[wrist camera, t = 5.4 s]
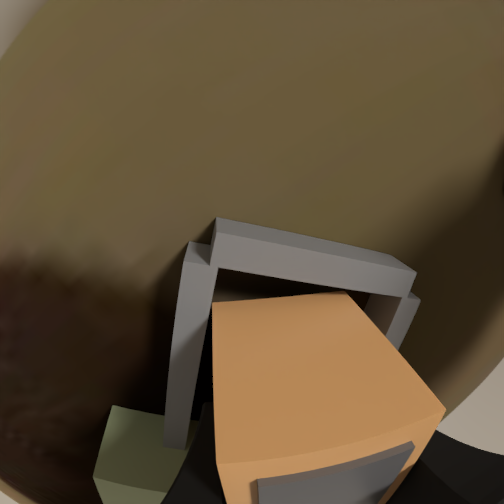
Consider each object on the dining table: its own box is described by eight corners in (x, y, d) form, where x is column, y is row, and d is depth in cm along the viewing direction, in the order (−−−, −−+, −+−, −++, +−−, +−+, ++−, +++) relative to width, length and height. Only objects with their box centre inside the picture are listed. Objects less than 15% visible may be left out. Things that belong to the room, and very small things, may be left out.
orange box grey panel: (344, 290, 10) (451, 415, 4) (324, 421, 12) (368, 529, 6) (212, 302, 10) (216, 473, 4) (228, 435, 12) (242, 555, 6)
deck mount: (443, 267, 12) (510, 310, 8) (327, 473, 16) (344, 522, 12) (117, 199, 9) (55, 232, 5) (120, 462, 14) (110, 519, 10)
